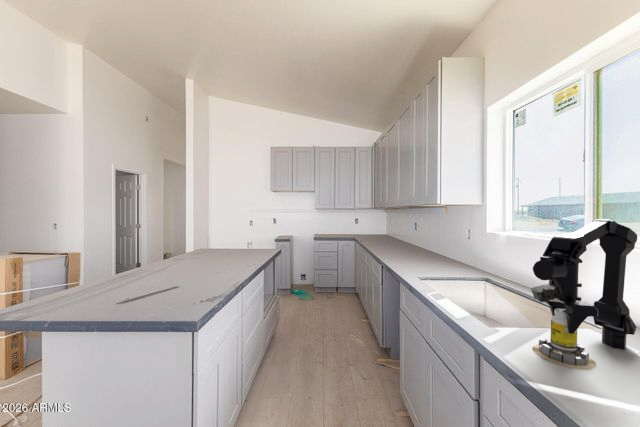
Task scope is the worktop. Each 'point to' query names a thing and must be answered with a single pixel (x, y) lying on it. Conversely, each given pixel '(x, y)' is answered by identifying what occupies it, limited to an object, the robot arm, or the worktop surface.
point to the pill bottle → (562, 332)
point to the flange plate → (588, 366)
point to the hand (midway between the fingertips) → (563, 328)
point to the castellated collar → (564, 354)
